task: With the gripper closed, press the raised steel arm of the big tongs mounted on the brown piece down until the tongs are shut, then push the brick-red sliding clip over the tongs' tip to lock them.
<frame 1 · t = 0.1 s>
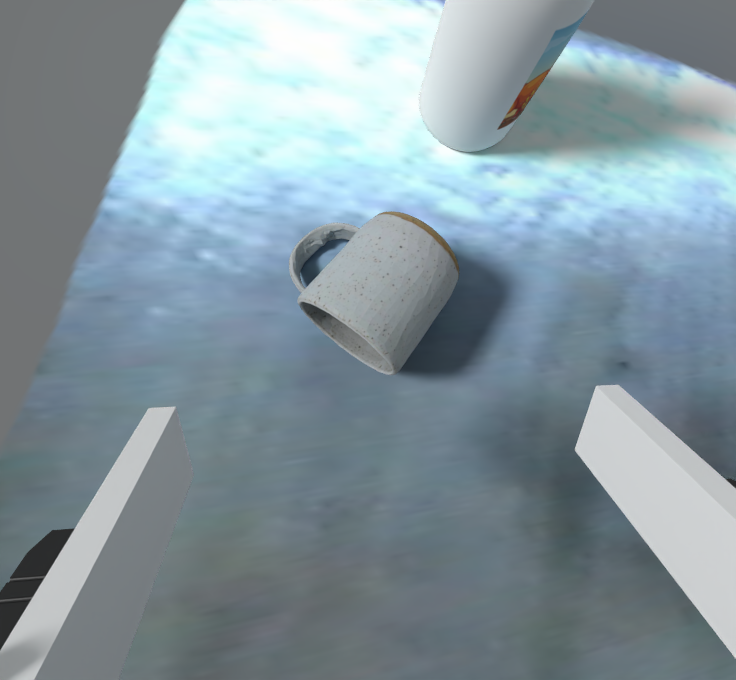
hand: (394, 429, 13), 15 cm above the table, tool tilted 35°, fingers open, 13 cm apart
milk bottle: (463, 112, 32), on the table
ceramic mug: (358, 297, 29), on the table
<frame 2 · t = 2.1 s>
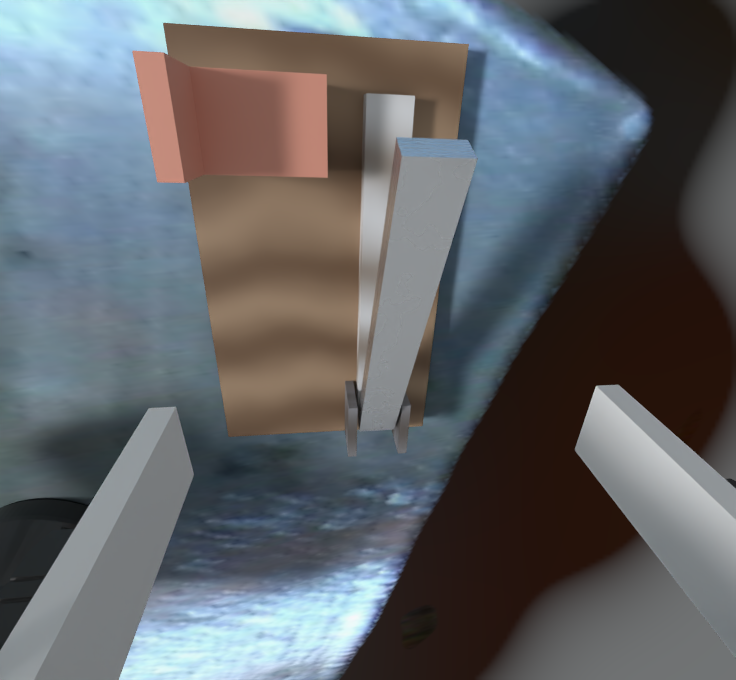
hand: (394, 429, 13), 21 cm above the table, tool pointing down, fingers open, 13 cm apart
brown piece: (325, 270, 32), on the table
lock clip: (248, 125, 20), point 8 cm above the table, slide at 0.0 cm
tong arm: (394, 336, 25), point 9 cm above the table, hinge at 25.0°
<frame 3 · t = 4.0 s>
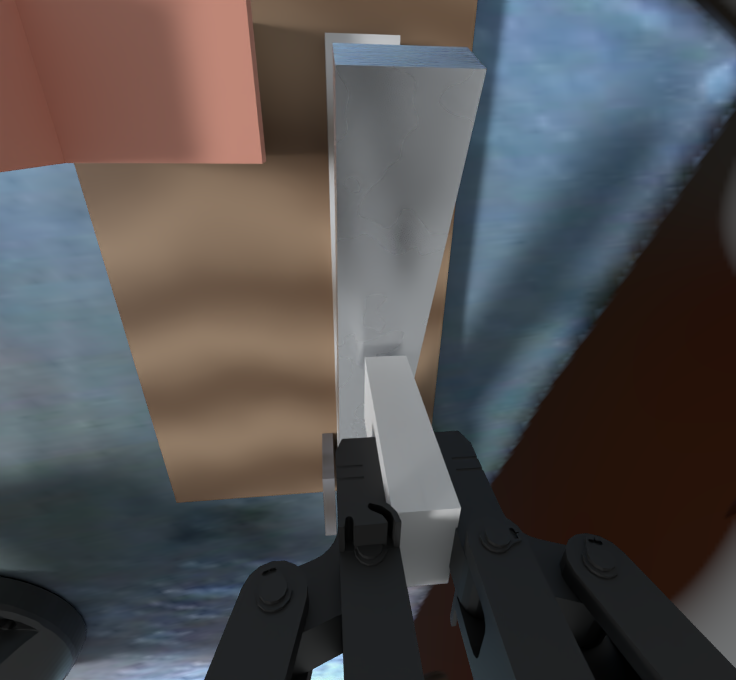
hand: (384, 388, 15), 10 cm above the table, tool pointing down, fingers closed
brown piece: (289, 293, 24), on the table
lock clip: (111, 76, 12), point 8 cm above the table, slide at 0.0 cm
tong arm: (372, 384, 17), point 8 cm above the table, hinge at 21.5°, touching gripper
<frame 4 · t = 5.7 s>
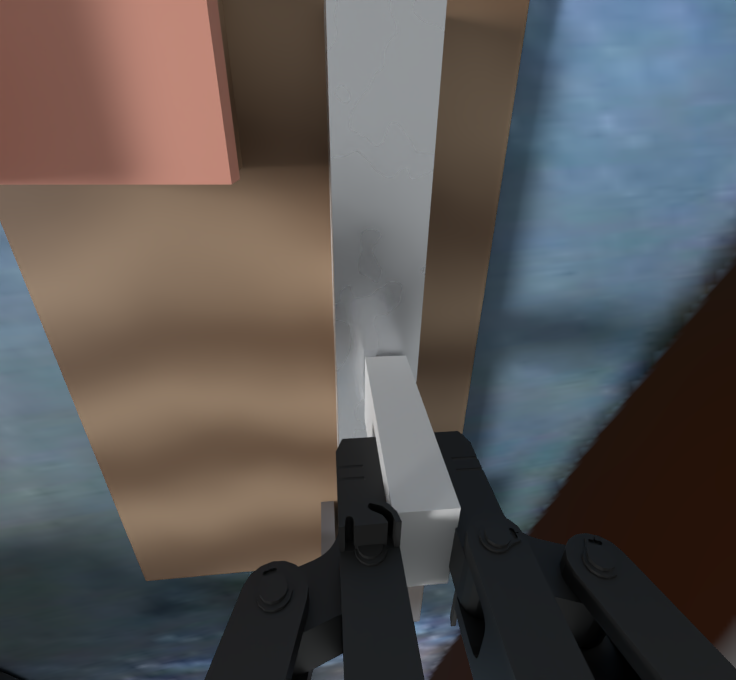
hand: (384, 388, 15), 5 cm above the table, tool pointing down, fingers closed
brown piece: (280, 337, 19), on the table
tong arm: (374, 379, 16), point 4 cm above the table, hinge at -0.1°, touching gripper
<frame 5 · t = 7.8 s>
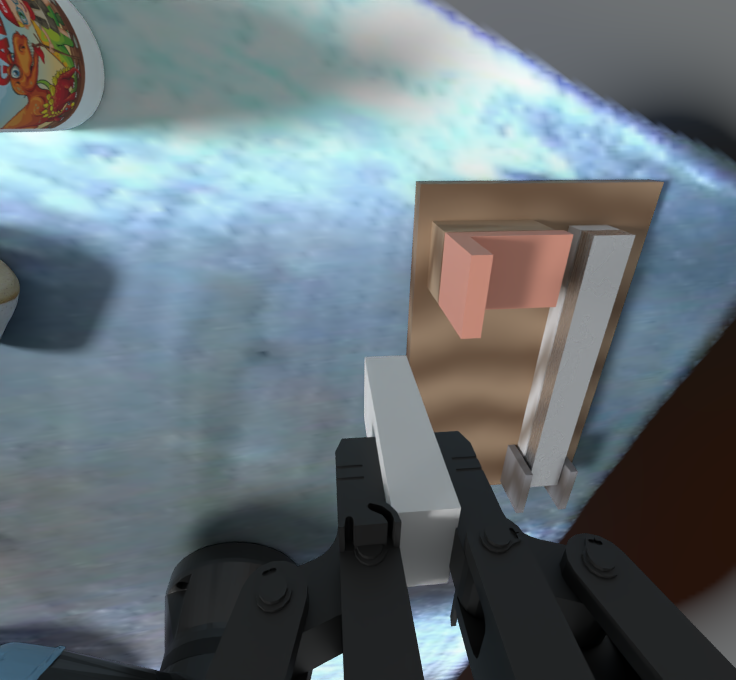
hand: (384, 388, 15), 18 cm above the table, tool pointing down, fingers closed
milk bottle: (40, 57, 24), on the table
brown piece: (503, 355, 37), on the table
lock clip: (515, 281, 25), point 8 cm above the table, slide at 0.0 cm
tong arm: (567, 377, 34), point 4 cm above the table, hinge at -0.1°
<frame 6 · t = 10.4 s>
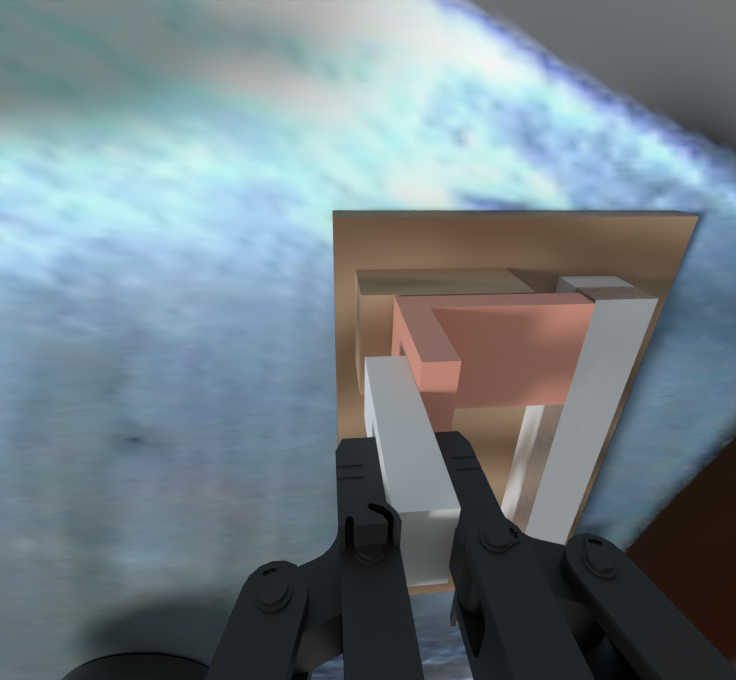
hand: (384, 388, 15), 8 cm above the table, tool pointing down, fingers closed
brown piece: (470, 438, 27), on the table
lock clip: (502, 378, 16), point 8 cm above the table, slide at 1.4 cm, touching gripper
tong arm: (555, 479, 24), point 4 cm above the table, hinge at -0.1°
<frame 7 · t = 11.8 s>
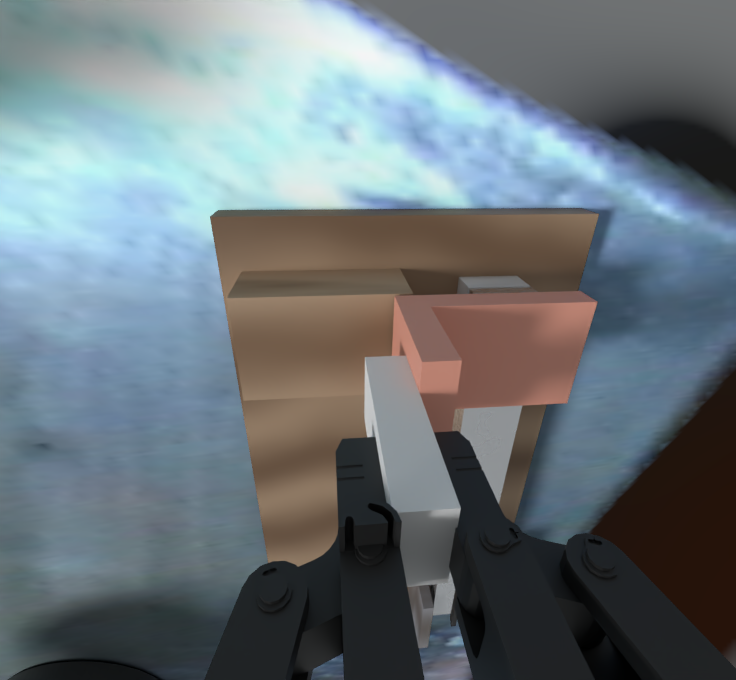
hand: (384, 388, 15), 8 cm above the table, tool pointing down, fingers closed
brown piece: (394, 442, 27), on the table
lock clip: (504, 378, 16), point 8 cm above the table, slide at 6.7 cm, touching gripper
tong arm: (471, 485, 24), point 4 cm above the table, hinge at -0.1°
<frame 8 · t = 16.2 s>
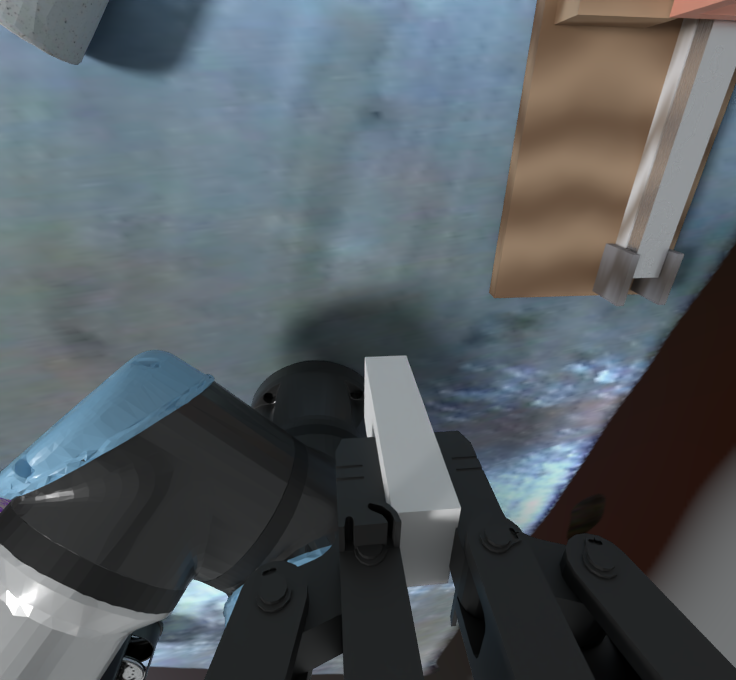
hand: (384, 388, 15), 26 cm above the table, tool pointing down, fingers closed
french press: (133, 622, 64), on the table
brown piece: (610, 135, 36), on the table
tong arm: (685, 136, 33), point 4 cm above the table, hinge at -0.1°
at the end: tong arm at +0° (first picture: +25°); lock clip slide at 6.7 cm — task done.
